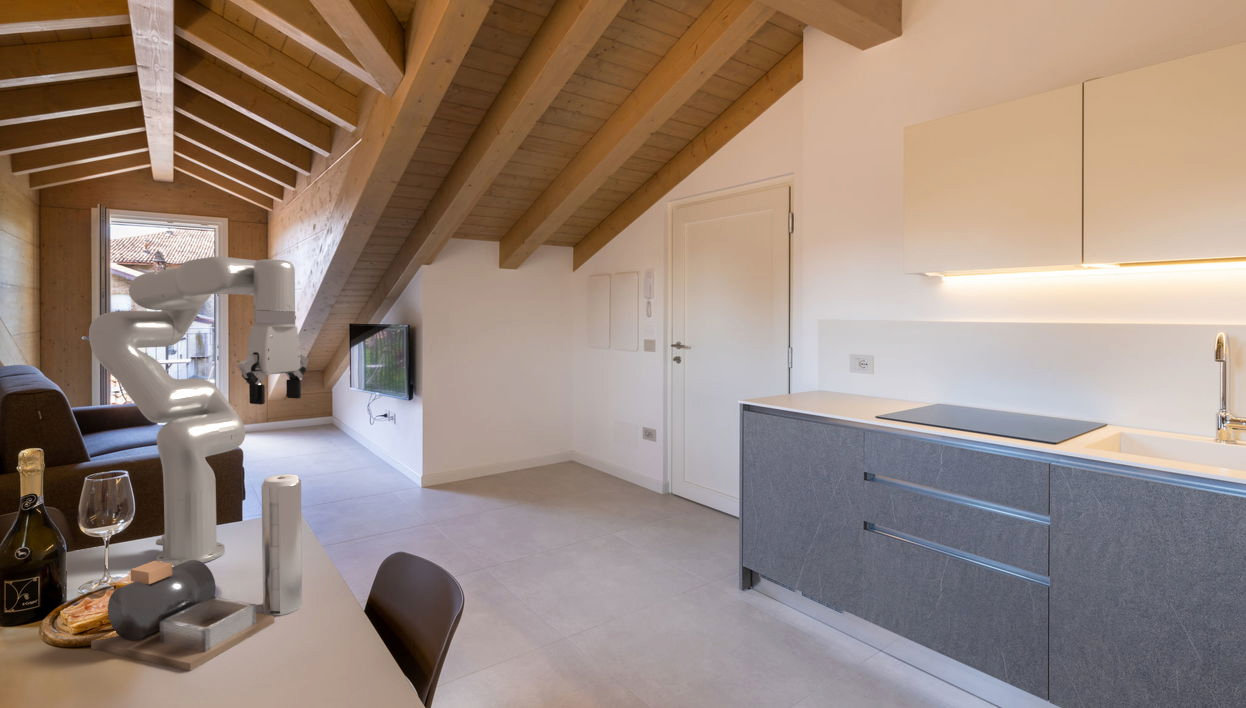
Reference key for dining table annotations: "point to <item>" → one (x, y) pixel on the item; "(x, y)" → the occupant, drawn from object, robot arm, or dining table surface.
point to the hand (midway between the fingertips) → (276, 400)
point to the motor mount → (176, 616)
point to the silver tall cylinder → (281, 544)
